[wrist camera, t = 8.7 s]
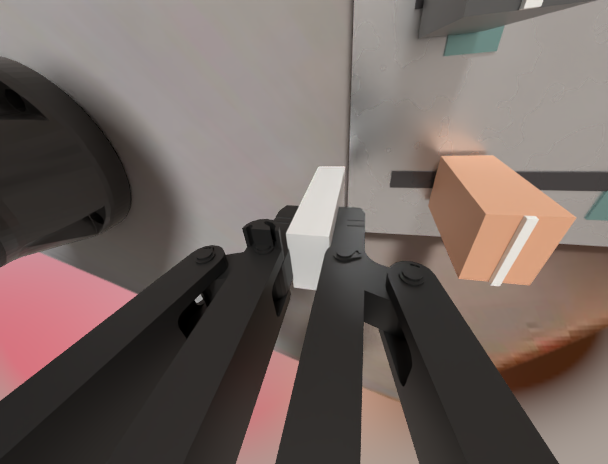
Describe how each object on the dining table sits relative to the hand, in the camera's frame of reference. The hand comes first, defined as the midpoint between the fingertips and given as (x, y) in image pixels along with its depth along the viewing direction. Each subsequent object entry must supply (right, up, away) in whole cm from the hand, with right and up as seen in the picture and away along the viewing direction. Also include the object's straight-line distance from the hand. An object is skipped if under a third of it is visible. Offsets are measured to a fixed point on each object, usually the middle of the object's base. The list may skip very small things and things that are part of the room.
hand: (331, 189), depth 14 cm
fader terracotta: (+7, 0, -1) cm, 7 cm away
